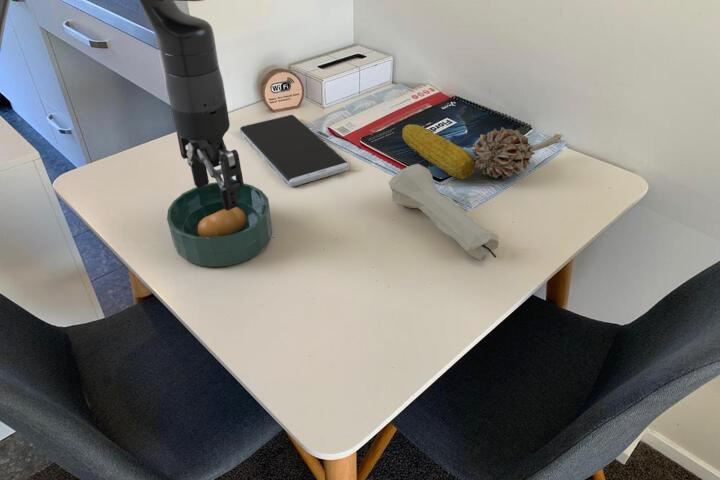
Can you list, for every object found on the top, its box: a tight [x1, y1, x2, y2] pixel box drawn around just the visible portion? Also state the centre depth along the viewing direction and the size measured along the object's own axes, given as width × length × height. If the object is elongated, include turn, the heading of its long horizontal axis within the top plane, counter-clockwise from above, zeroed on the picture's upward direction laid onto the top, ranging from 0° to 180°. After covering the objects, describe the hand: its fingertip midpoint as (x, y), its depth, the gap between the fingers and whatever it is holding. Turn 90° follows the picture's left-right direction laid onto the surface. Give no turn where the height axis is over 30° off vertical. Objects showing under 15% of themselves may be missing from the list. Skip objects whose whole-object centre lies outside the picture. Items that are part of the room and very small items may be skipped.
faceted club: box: [388, 163, 500, 261], centre depth 88 cm, size 9×8×25 cm
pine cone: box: [469, 126, 563, 179], centre depth 103 cm, size 22×10×10 cm, turn 121°
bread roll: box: [198, 207, 246, 238], centre depth 86 cm, size 8×4×4 cm, turn 133°
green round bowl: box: [166, 181, 273, 268], centre depth 86 cm, size 16×16×6 cm
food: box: [401, 123, 476, 180], centre depth 107 cm, size 21×6×6 cm, turn 33°
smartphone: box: [239, 113, 350, 187], centre depth 111 cm, size 13×27×2 cm, turn 31°
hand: (216, 196), depth 83 cm, fingers open, 8 cm apart
